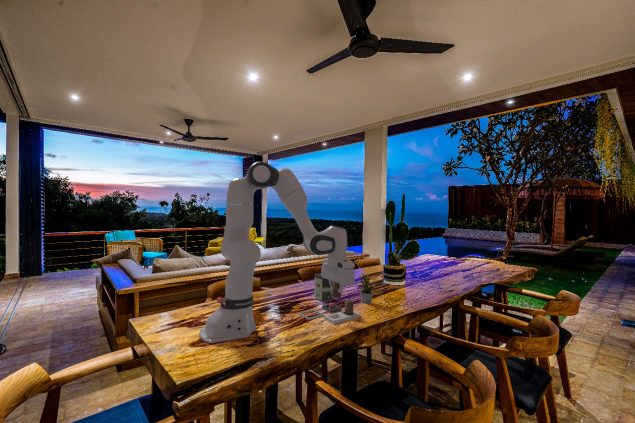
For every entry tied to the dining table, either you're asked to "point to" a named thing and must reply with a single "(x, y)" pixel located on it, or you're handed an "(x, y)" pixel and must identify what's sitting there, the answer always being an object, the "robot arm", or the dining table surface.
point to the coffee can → (322, 288)
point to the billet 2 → (349, 307)
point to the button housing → (334, 309)
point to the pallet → (340, 317)
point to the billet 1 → (335, 290)
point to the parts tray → (312, 317)
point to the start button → (331, 305)
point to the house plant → (366, 290)
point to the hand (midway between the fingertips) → (336, 291)
